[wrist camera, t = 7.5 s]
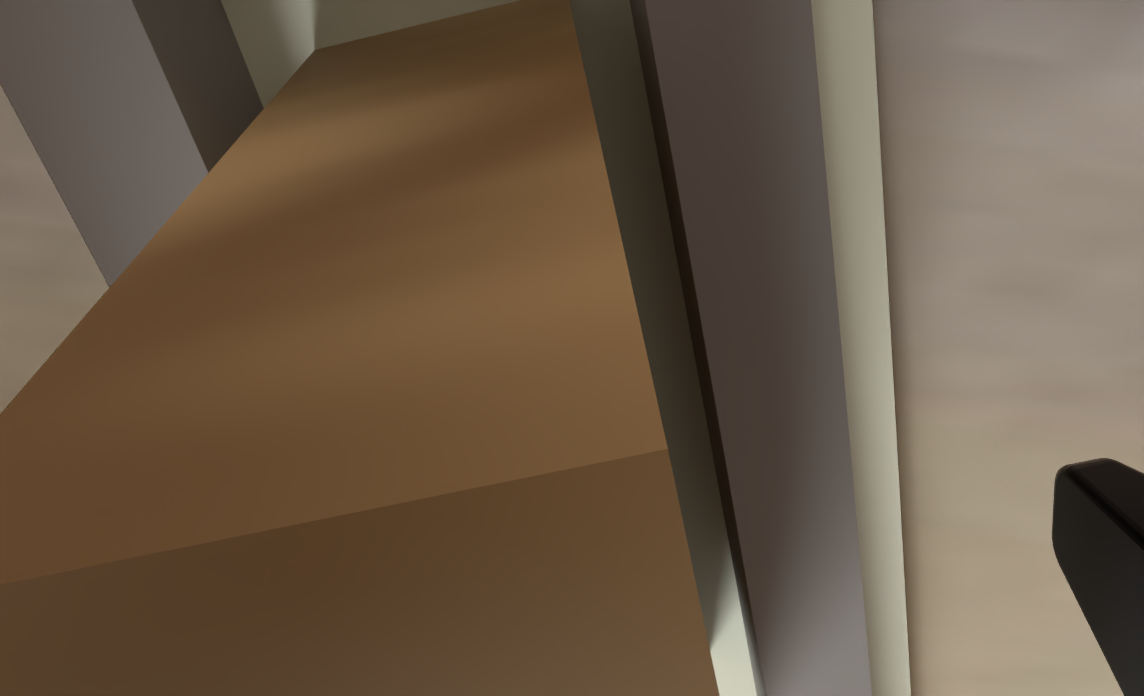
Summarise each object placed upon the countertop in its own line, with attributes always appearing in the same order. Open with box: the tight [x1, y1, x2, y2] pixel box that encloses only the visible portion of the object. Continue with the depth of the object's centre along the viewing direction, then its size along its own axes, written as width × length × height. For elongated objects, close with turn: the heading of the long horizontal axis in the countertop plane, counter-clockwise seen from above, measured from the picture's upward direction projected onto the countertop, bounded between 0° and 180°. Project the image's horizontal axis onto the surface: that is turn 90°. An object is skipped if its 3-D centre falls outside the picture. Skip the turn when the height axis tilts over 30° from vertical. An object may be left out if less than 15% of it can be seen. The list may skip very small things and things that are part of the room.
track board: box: [0, 0, 911, 696], centre depth 11 cm, size 8×20×4 cm, turn 13°
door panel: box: [0, 0, 720, 696], centre depth 8 cm, size 2×9×7 cm, turn 12°
